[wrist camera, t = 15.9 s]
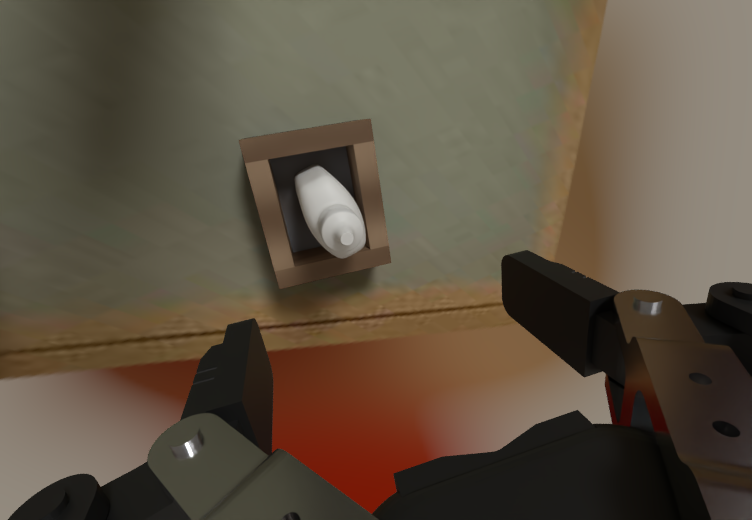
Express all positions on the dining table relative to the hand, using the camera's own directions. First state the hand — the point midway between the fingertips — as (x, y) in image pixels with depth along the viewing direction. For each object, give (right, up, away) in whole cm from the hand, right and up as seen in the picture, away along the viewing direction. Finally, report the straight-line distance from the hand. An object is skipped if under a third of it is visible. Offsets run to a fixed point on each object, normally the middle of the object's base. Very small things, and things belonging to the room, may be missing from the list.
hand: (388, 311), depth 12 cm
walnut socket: (-5, +7, +19) cm, 21 cm away
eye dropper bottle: (-5, +7, +19) cm, 20 cm away
